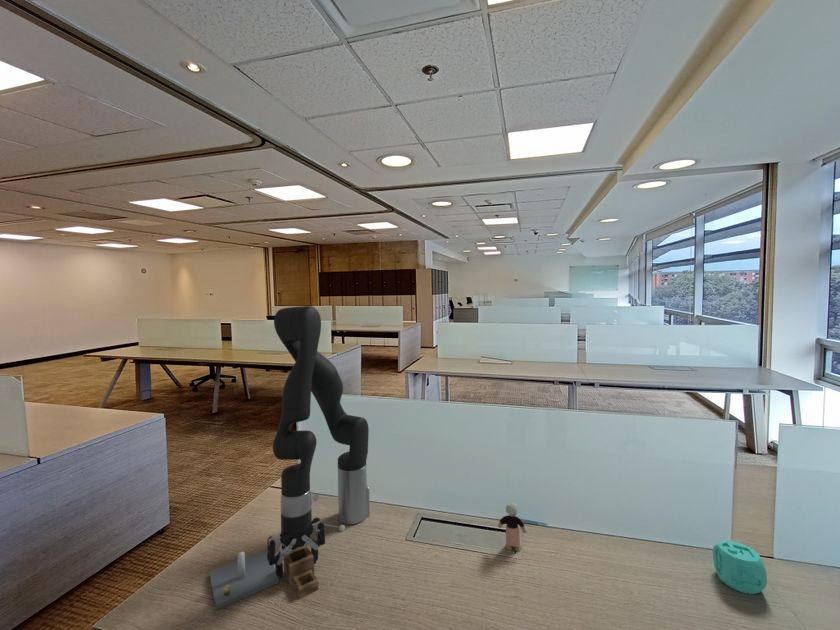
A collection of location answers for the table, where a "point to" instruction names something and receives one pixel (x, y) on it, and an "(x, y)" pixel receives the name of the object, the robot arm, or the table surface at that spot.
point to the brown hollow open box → (301, 570)
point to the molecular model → (315, 496)
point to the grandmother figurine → (512, 527)
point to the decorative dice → (739, 567)
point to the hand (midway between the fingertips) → (297, 569)
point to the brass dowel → (226, 589)
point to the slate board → (242, 578)
